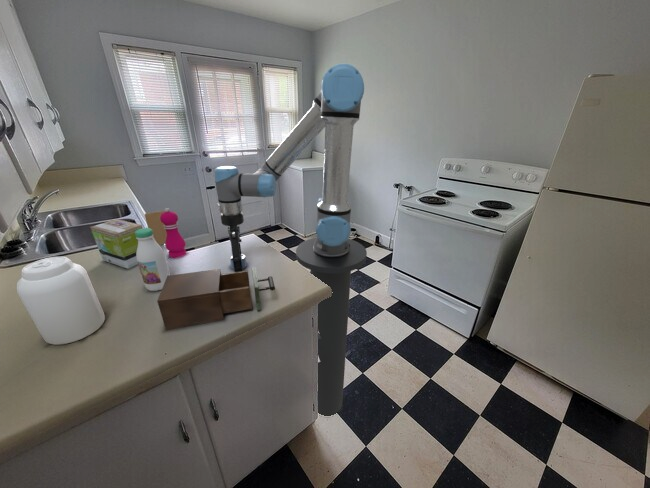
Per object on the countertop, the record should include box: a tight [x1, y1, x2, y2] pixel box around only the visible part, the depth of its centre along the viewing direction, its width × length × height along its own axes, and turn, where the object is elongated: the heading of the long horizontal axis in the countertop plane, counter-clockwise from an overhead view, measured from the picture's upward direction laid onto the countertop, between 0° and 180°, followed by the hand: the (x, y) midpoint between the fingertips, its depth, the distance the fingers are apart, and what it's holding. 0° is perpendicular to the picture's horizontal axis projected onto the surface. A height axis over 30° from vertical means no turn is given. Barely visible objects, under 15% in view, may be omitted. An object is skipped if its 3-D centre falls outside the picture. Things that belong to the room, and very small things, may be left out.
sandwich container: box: [144, 210, 167, 246], centre depth 123 cm, size 9×15×15 cm, turn 36°
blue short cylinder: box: [229, 253, 247, 270], centre depth 103 cm, size 6×6×4 cm
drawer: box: [219, 267, 276, 315], centre depth 81 cm, size 18×11×8 cm, turn 107°
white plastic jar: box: [16, 255, 106, 346], centre depth 68 cm, size 12×12×20 cm
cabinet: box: [156, 268, 225, 331], centre depth 77 cm, size 15×13×10 cm
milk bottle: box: [135, 227, 171, 292], centre depth 87 cm, size 8×8×20 cm
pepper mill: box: [160, 207, 187, 259], centre depth 107 cm, size 7×7×20 cm
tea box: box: [89, 218, 143, 270], centre depth 103 cm, size 15×10×15 cm, turn 67°
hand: (238, 265), depth 103 cm, fingers open, 12 cm apart
